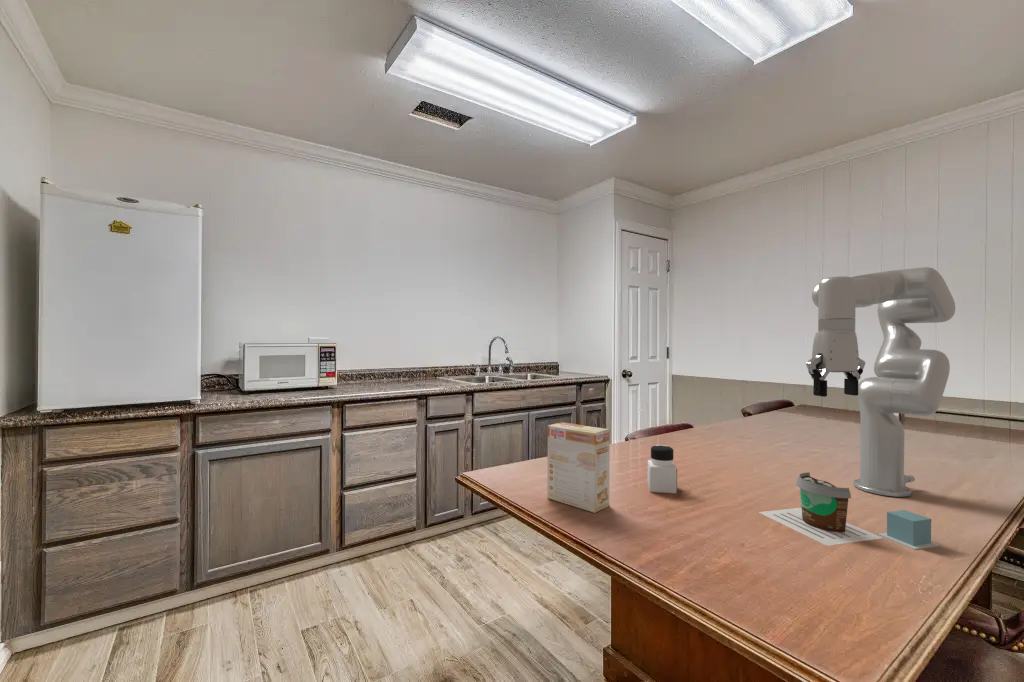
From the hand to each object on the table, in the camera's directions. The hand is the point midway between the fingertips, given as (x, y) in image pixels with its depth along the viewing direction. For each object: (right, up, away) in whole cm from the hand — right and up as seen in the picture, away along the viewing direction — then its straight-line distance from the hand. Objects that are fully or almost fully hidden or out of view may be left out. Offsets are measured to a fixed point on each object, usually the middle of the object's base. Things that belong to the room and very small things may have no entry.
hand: (835, 395), depth 111 cm
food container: (-12, -28, -10) cm, 32 cm away
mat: (+2, -28, -18) cm, 34 cm away
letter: (-11, -28, -10) cm, 32 cm away
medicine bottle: (-39, -28, +14) cm, 50 cm away
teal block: (+2, -28, -18) cm, 33 cm away
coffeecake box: (-64, -28, +4) cm, 70 cm away
